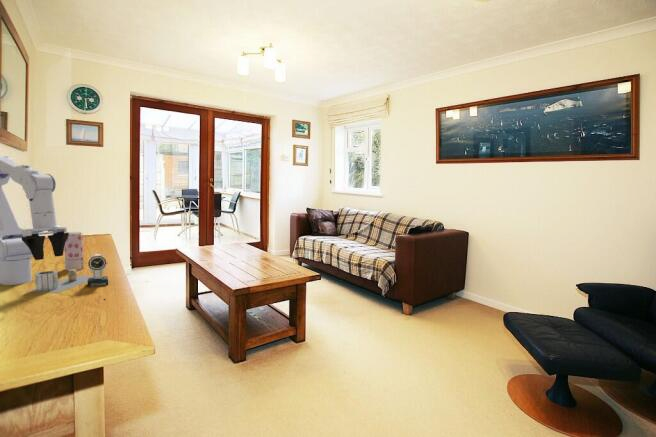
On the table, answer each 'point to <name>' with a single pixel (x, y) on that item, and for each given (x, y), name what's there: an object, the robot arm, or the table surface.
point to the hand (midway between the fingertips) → (49, 257)
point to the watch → (97, 270)
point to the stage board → (67, 284)
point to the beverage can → (74, 251)
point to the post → (72, 275)
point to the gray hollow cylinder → (46, 280)
